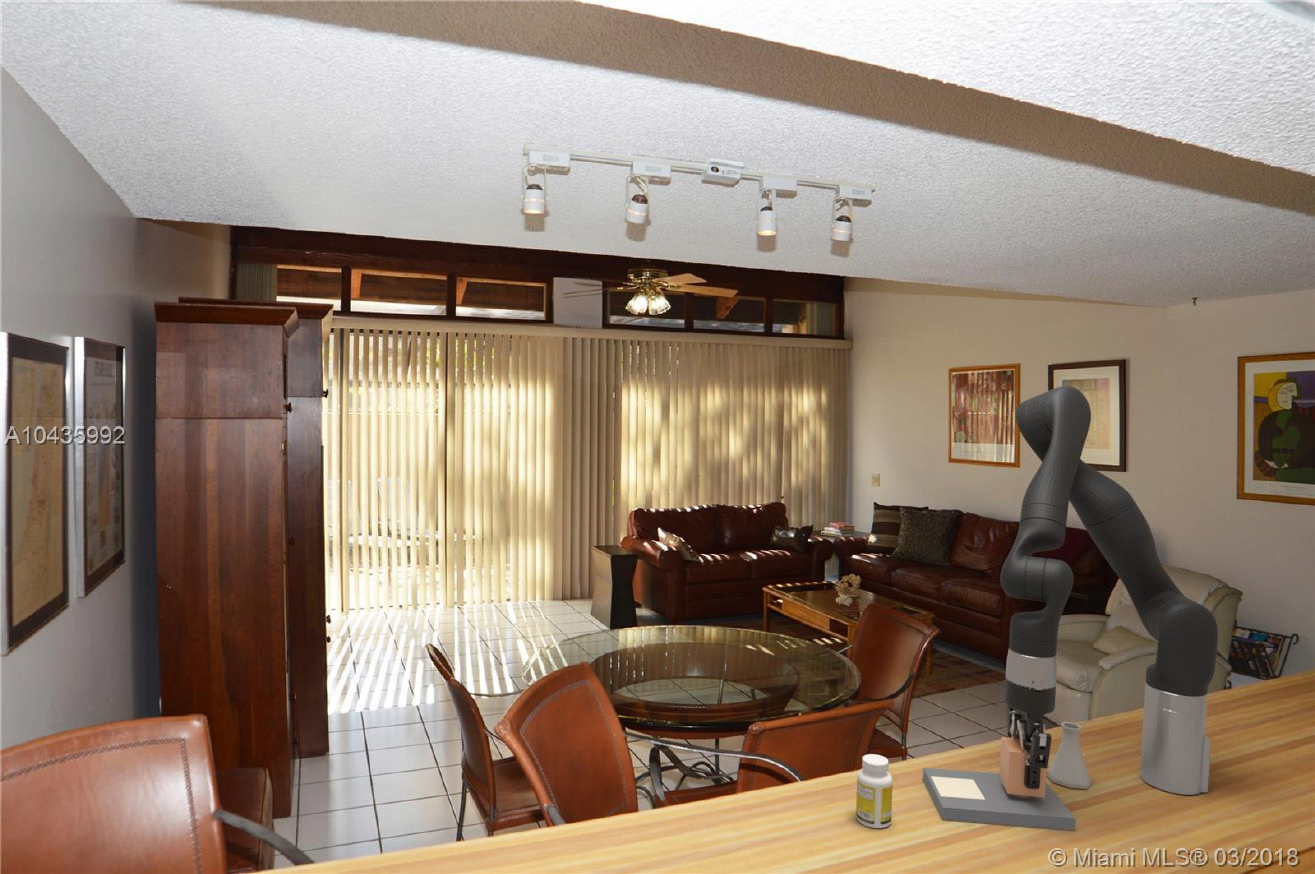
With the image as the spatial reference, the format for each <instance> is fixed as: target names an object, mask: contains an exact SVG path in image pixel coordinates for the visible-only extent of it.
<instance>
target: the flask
mask: <svg viewBox="0 0 1315 874" xmlns="http://www.w3.org/2000/svg"><path fill="white" fill-rule="evenodd" d="M1060 726H1061V728H1062V736H1061V740H1060V743H1059V746H1058V748H1057V751H1056V753H1055V755H1054V757H1053V760H1052V761H1051V764H1050V766H1048V768H1047V770H1046V777H1047V778H1048V779H1049V780H1050V782H1052V783H1054V784H1057V785H1061V786H1063V787H1066V788H1069V789H1080V790H1081V789H1083V790H1088V789H1089V788H1090V787H1091V786H1092V784H1093V783H1092V780H1091V777H1090V773H1089V769H1088V767H1087V764H1086V762H1085V757H1084V755H1083V751H1082V748H1081V741H1080V740H1081V739H1080V732H1081V731H1082V726H1081V725H1080V724H1078V723H1075V722H1070V721H1063V722H1061V725H1060Z"/></svg>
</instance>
